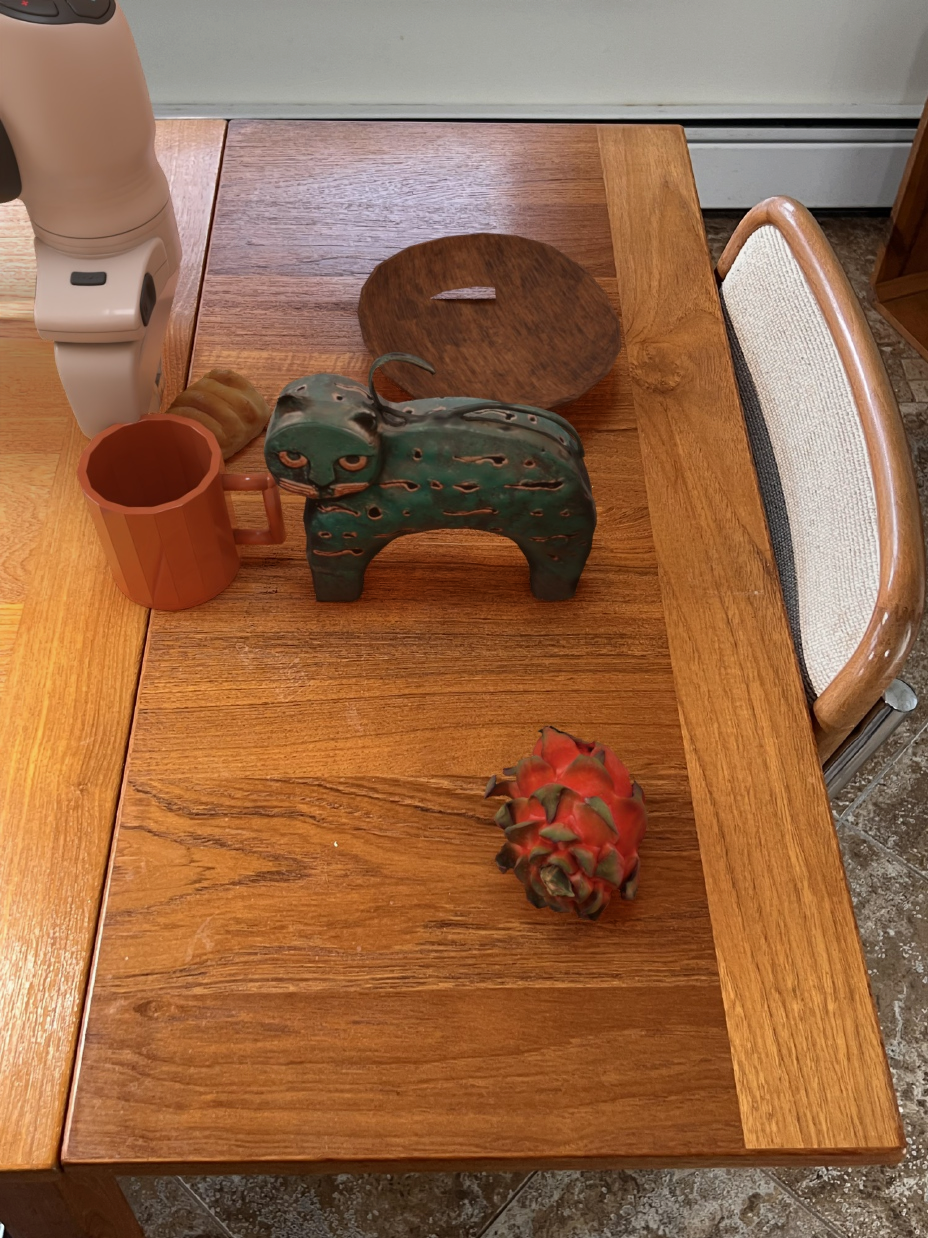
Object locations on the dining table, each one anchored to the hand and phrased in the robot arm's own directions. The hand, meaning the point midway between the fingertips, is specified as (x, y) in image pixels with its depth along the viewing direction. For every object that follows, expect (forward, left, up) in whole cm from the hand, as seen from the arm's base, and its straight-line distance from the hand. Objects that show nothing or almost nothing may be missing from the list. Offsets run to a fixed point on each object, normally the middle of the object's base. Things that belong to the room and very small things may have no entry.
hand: (152, 399), depth 85 cm
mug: (+5, -14, -3) cm, 15 cm away
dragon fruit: (+28, -36, -3) cm, 45 cm away
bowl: (+25, +6, -3) cm, 26 cm away
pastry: (+4, -1, -3) cm, 5 cm away
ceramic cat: (+21, -16, -3) cm, 26 cm away
